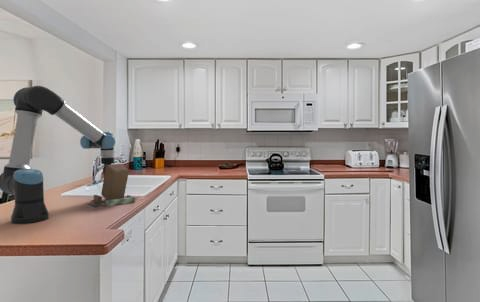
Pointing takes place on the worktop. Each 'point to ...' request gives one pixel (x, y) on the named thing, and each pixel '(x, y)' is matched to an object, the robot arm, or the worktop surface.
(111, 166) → the block
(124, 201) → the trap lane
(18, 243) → the worktop surface
